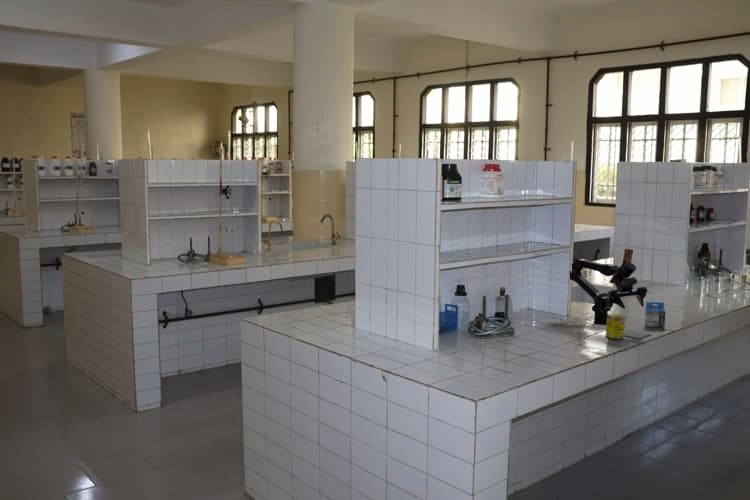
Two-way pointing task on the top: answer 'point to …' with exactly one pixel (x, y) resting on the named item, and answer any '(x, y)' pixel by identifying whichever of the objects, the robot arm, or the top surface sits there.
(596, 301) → the robot arm
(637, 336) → the mat
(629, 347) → the top surface
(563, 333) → the top surface
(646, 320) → the label tape box
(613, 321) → the supplement box
